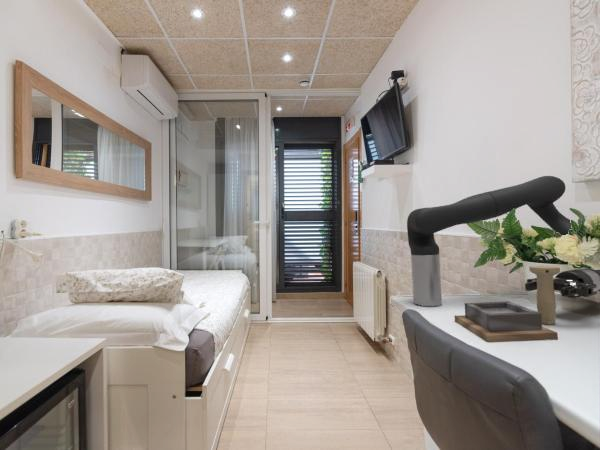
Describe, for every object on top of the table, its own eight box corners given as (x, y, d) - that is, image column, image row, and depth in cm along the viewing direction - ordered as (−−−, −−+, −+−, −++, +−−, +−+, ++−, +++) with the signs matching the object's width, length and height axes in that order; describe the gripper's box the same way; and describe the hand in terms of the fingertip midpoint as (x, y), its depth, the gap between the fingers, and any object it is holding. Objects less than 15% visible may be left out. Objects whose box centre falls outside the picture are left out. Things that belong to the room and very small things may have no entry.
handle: (565, 327, 79) (562, 268, 79) (535, 325, 82) (532, 268, 82) (559, 321, 83) (556, 265, 84) (530, 319, 86) (527, 265, 86)
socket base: (454, 321, 88) (453, 301, 88) (512, 318, 88) (510, 299, 88) (487, 342, 72) (486, 318, 72) (557, 339, 72) (556, 315, 72)
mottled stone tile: (475, 311, 84) (474, 308, 84) (506, 310, 84) (506, 307, 84) (493, 321, 76) (493, 318, 76) (528, 319, 76) (528, 316, 76)
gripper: (549, 267, 96) (515, 272, 89) (609, 272, 83) (576, 279, 76) (550, 291, 96) (517, 298, 89) (611, 300, 83) (577, 309, 76)
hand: (544, 289), depth 83 cm, fingers open, 8 cm apart
